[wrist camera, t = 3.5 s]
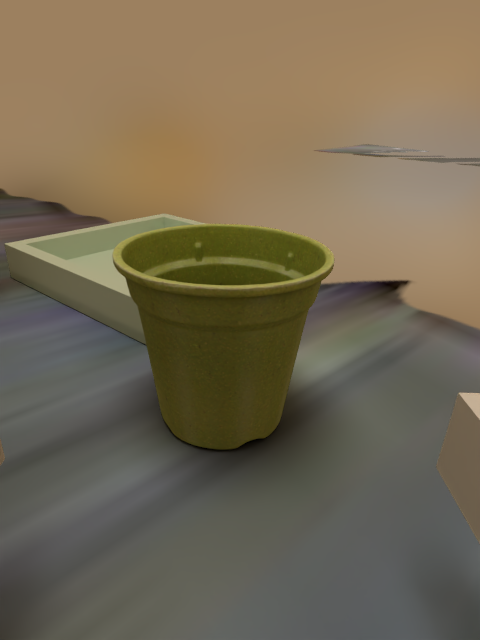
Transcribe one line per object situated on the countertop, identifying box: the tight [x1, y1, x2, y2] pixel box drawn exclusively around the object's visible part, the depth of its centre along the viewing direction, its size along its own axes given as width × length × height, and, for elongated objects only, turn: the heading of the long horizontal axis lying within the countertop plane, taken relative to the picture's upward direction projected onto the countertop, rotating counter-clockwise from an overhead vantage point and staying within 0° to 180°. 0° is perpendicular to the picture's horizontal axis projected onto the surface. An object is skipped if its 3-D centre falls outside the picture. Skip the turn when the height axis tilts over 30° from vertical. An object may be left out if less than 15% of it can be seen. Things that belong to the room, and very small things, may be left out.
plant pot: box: [112, 224, 334, 449], centre depth 21 cm, size 9×9×9 cm
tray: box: [4, 214, 206, 345], centre depth 40 cm, size 18×18×3 cm
